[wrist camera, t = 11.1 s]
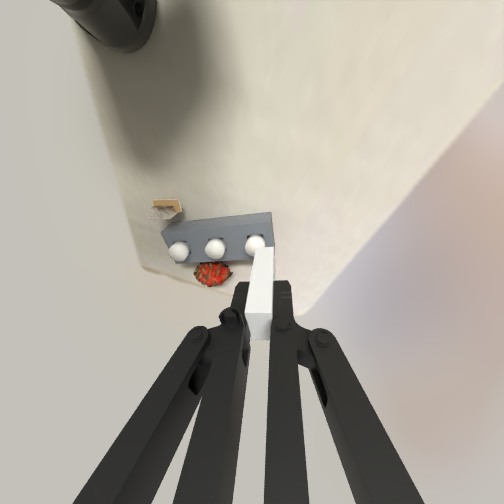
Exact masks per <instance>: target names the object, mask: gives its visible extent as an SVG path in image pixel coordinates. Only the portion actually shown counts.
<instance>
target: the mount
mask: <svg viewBox="0 0 504 504" xmlns="http://www.w3.org/2000/svg"><path fill="white" fill-rule="evenodd" d="M161 234H162V236H163V238H164V240H165V242H166V244H167V246H168V248H170V247H171V246H172V245H173V244H174V243H175V242H177V241H187V244H188V246H189V248H190V253H189V255H188V256H187V257H186V259H185V260H184V261H175V260H174V261H175V263H176V264H180V263H196V262H213V261H229V260H246V259H254V257H253V256H250V255H249V254H248V253H247V252H246V250H245V245H246V242H247V239H248V237H250V236H251V235H261V234H263V238H264V240H265V247H274V256H275V242H274V233H273V224H272V215H271V212H265V213H256V214H247V215H238V216H229V217H220V218H211V219H202V220H193V221H184V222H175V223H171V224H170V225H169V226H168V227H167V228H166V229H164V230H163V231H162V232H161ZM213 238H223V239H224V243H225V245H226V250H225V252H224V254H223V256H222V257H221V258H220V259H212V258H210V257H209V256H208V255H207V254H206V252H205V247H206V245H207V244H208V242H209V241H210V240H211V239H213Z"/></svg>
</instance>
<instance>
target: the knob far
mask: <svg viewBox="0 0 504 504" xmlns="http://www.w3.org/2000/svg"><path fill="white" fill-rule="evenodd" d="M189 253H190V248H189V246H188V244H187V241H177V242H175V243H174V244H173V245H172V246H171V247H170V248H169V250H168V254H169V256H170V257H171V258H172V259H174V260H175V261H184V260H185V259H186V257H187V256H188V255H189Z"/></svg>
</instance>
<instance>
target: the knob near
mask: <svg viewBox="0 0 504 504" xmlns="http://www.w3.org/2000/svg"><path fill="white" fill-rule="evenodd" d="M259 247H265V240H264V238H263V234H261V235H251V236H250V237H248V239H247V242H246V245H245V250H246V252H247V253H248V254H249V255H250V256H253V257H254V256H255V251H256V248H259Z"/></svg>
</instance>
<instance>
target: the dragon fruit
mask: <svg viewBox="0 0 504 504" xmlns="http://www.w3.org/2000/svg"><path fill="white" fill-rule="evenodd" d="M219 262H220V263H219V264H217V261H213V263H212V262H207V263H206V264H205V263H203V262H200V265H199V266H197V267H196V269H195V271H194V273H193V274H194V276H196V279H197V280H198V281H199V282H202V284H203V285H207V286H208V287H212V286H216V285H222V284H223V282H224V281H225V280H226V279H228V277H230V276H231V275H232V274H233V272H232V273H231V272H230V271H229V270H230V268H229V267H228V266H227V265H225V267H228V268H225V267H223V266H221V265H222V261H219Z"/></svg>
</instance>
